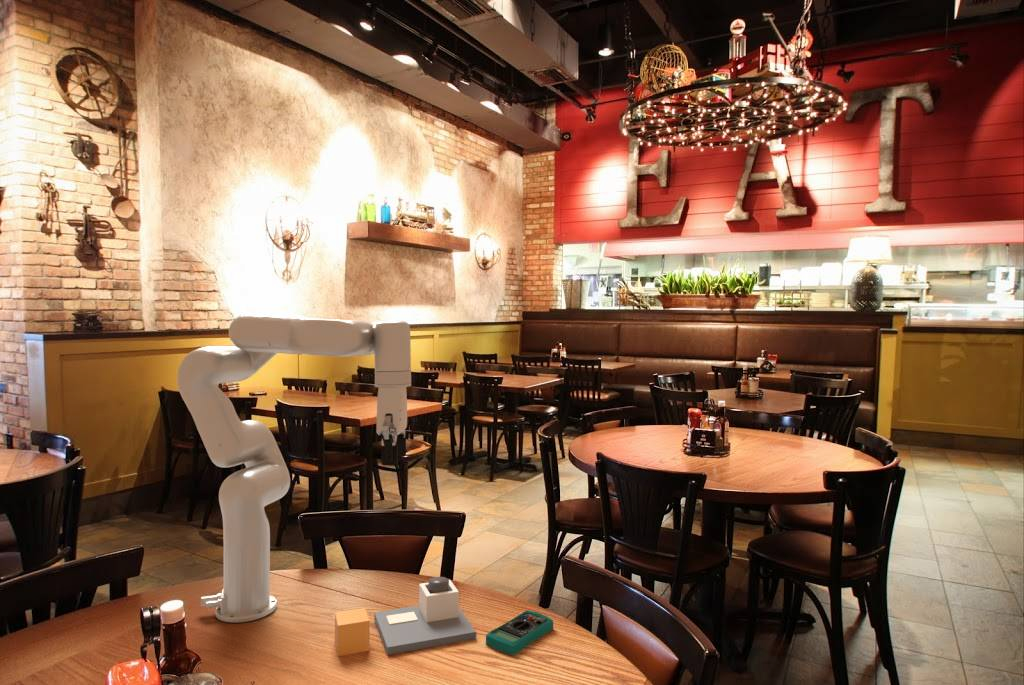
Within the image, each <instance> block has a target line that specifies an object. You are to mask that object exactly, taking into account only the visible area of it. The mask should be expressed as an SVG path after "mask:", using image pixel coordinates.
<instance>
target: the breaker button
mask: <svg viewBox="0 0 1024 685" xmlns="http://www.w3.org/2000/svg"><path fill="white" fill-rule="evenodd" d="M449 580H450V579H449V578H447V577H445V576H435V577H434V576H433V577H431V578H430V579H428V582H429V587H428V591H429V593H430V594H433V593H439V592H446V591H449Z"/></svg>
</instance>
